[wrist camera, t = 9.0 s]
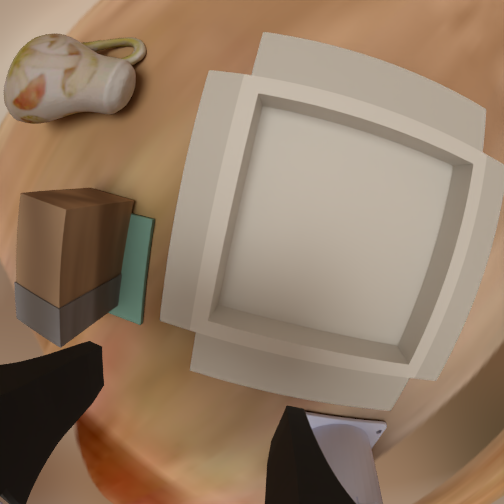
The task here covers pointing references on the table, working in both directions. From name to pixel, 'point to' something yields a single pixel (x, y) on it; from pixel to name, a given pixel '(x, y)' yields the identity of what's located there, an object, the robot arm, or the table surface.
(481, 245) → the off-white shallow square tray
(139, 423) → the table surface
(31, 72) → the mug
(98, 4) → the table surface
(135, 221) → the mat
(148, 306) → the table surface
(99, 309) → the box
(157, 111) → the table surface
